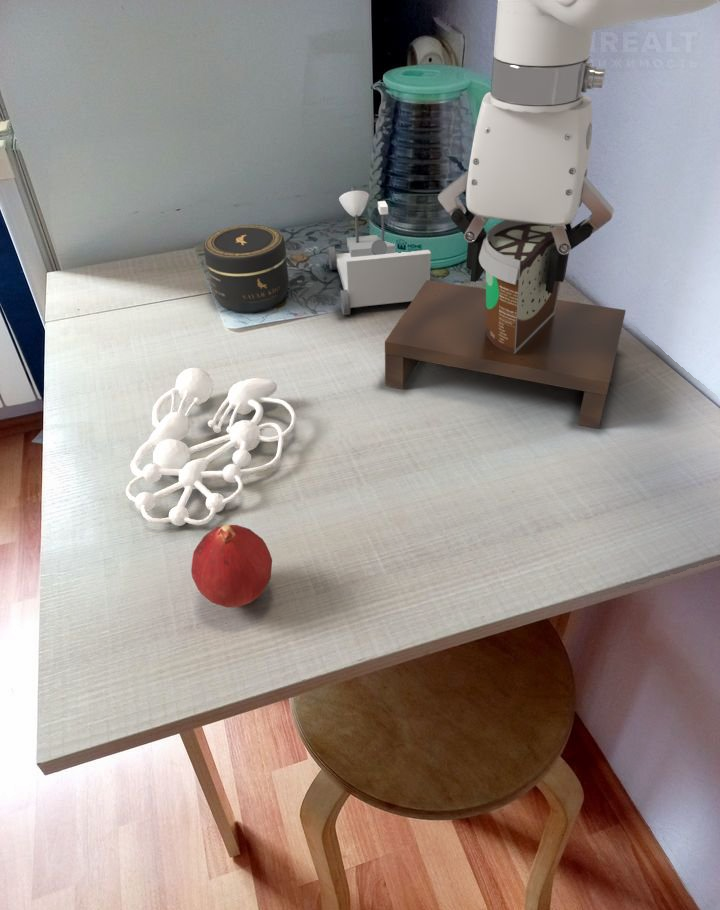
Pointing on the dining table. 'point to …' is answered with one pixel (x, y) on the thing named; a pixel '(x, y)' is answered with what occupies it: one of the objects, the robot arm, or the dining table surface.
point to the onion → (231, 566)
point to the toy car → (376, 264)
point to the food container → (517, 282)
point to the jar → (247, 267)
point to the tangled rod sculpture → (176, 455)
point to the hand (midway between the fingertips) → (514, 279)
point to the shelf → (539, 360)
